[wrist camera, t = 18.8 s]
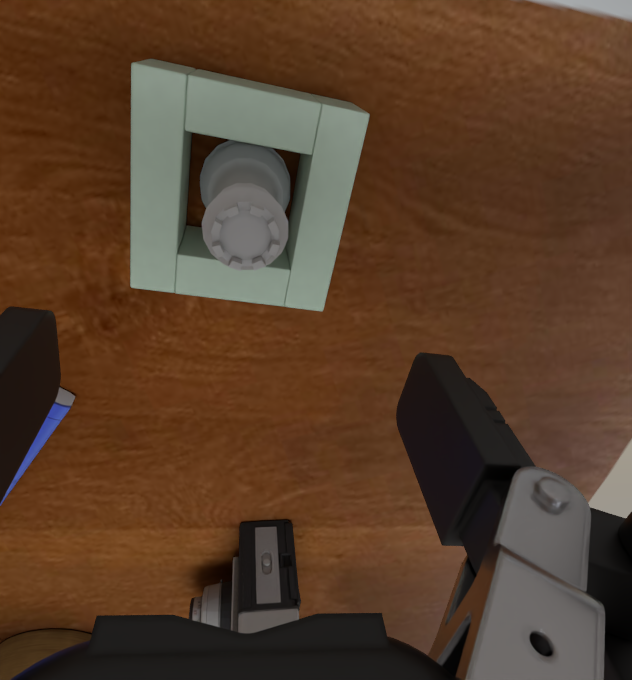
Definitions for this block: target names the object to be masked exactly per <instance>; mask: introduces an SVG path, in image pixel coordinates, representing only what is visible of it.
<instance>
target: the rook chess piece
mask: <svg viewBox="0 0 632 680" xmlns="http://www.w3.org/2000/svg"><path fill="white" fill-rule="evenodd" d="M200 189H201V199H202V201H203V203H204V205H205V207H206V211H205V214H204V217H203V220H202V231H203V240H204V241H205V243H206V245H207V247H208V249H209V251H210V252H211V254H212V255H213V256H214V257H216V258H217V259H218V260H219V261H220V262H222V263H223V264H224V265H227V266H228V267H230V268H233V269H236V270H238V271H241V270H254V271H255V270H258V269H260V268H263V267H265V266H266V265H268V264H271V263H272V262H273V261H274V260H275V259H276V258H277V257H278V256H279V255H280V254H281V253H282V252H283V249H284V247H285V245H286V242H287V240H288V220H287V218H286V215H285V210H286V208H287V206H288V203H289V201H290V175H289V172H288V170H287V168H286V165H285V163H284V160H283V159H282V158H281V157H280V156H279V155H278V154H277V152H276V151H275V150H274V149H273V148H271V147H266V146H261V145H255V144H250V143H245V142H240V141H235V140H229V141H227V142H224V143H222V144H220V145H218V146H217V147H216V148H215V149H214V150H213V151H212V152H211V153H210V154H209V156H208V157H207V158H206V159H205V162H204V165H203V168H202V171H201V174H200Z"/></svg>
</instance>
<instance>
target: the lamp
mask: <svg viewBox="0 0 632 680" xmlns="http://www.w3.org/2000/svg"><path fill="white" fill-rule="evenodd" d="M91 636H92V635H91V634H88V633H84V632H79V631H73V630H63V629H47V630H37V631H31V632H26V633H22V634H19V635H16V636H13V637H11V638H9V639H7V640H5V641H3V642H2V643H1V644H0V680H10V679H12V678H13V677H15V676H16V675H18V674H19V673H21V672H22V671H24V670H25V669H27V668H29V667H30V666H32V665H33V664H35V663H37V662H39V661H40V660H42V659H44V658H46V657H48V656H50V655H52V654H54V653H56V652H58V651H61V650H63V649H66V648H68V647H71V646H73V645H76V644H79V643H83V642H86V641H90V639H91Z"/></svg>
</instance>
